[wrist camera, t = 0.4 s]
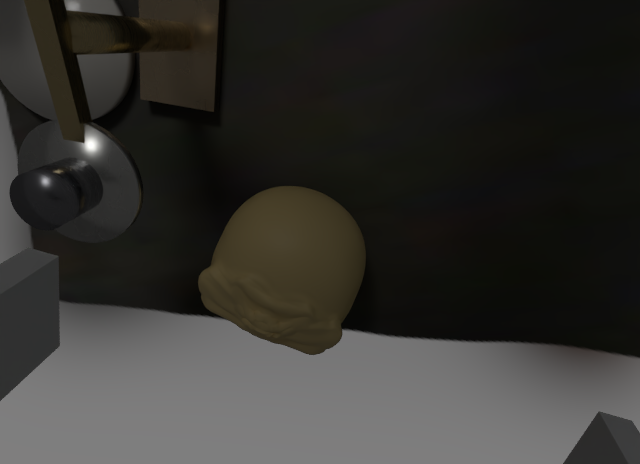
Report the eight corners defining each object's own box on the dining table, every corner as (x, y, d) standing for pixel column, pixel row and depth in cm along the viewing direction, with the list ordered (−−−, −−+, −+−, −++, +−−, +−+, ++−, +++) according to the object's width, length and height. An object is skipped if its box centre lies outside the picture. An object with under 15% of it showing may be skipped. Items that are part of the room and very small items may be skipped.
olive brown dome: (221, 267, 42) (169, 336, 32) (264, 151, 37) (218, 191, 27) (332, 317, 42) (315, 400, 32) (390, 209, 37) (390, 268, 27)
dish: (-18, -54, 34) (-32, -58, 33) (133, -31, 33) (124, -34, 32) (4, 108, 38) (-7, 109, 37) (137, 132, 38) (129, 134, 37)
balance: (138, -153, 30) (-166, -390, 14) (239, -140, 29) (52, -369, 13) (143, 169, 39) (-35, 261, 23) (220, 184, 38) (96, 288, 22)
